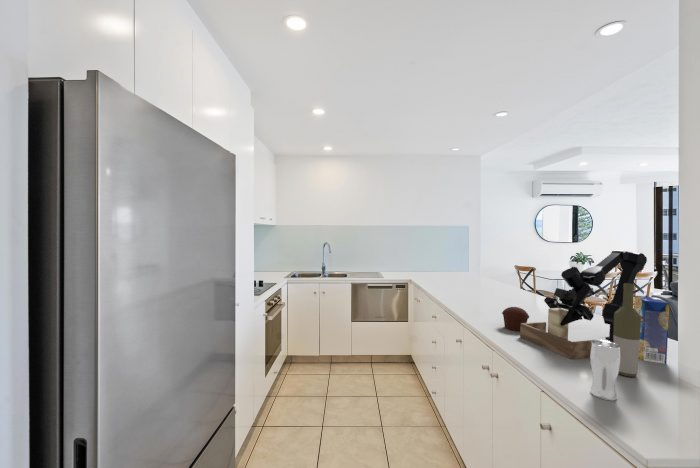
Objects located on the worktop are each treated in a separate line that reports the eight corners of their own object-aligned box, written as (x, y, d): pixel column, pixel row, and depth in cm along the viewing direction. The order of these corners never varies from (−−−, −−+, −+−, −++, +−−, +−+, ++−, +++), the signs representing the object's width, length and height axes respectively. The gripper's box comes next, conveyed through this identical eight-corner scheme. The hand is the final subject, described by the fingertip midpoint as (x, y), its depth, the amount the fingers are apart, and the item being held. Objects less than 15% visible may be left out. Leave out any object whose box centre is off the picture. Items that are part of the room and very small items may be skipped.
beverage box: (654, 353, 131) (657, 297, 130) (666, 364, 121) (669, 303, 120) (632, 350, 134) (634, 295, 133) (642, 360, 124) (645, 300, 123)
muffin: (530, 328, 161) (530, 307, 161) (527, 334, 152) (528, 312, 152) (503, 323, 167) (503, 303, 167) (499, 329, 158) (500, 308, 158)
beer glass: (582, 389, 100) (584, 339, 100) (604, 389, 100) (606, 339, 100) (601, 401, 93) (604, 348, 93) (625, 401, 94) (627, 347, 93)
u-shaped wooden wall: (543, 335, 151) (544, 321, 151) (598, 356, 127) (599, 340, 127) (520, 337, 147) (520, 323, 147) (571, 359, 123) (572, 343, 123)
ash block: (557, 336, 140) (558, 307, 140) (567, 340, 135) (568, 310, 135) (547, 337, 139) (548, 308, 138) (558, 341, 134) (559, 311, 134)
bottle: (640, 380, 107) (645, 286, 106) (612, 374, 111) (616, 284, 110) (636, 372, 113) (640, 283, 112) (610, 367, 117) (613, 281, 116)
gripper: (548, 278, 146) (526, 304, 144) (589, 285, 129) (565, 316, 126) (561, 295, 149) (540, 321, 146) (603, 305, 131) (580, 335, 128)
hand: (555, 323), depth 137 cm, fingers closed on ash block, 5 cm apart
